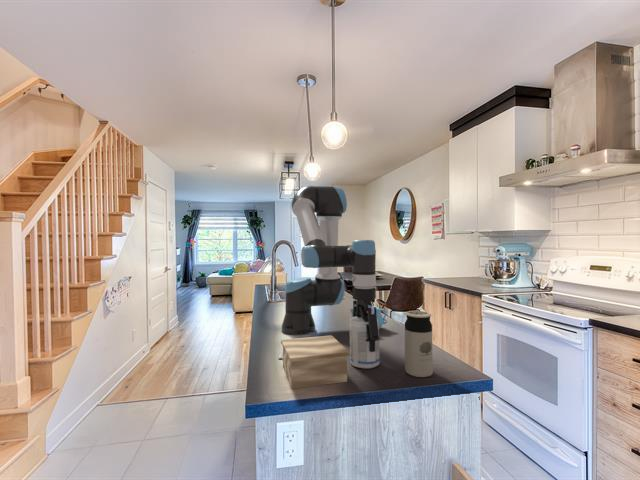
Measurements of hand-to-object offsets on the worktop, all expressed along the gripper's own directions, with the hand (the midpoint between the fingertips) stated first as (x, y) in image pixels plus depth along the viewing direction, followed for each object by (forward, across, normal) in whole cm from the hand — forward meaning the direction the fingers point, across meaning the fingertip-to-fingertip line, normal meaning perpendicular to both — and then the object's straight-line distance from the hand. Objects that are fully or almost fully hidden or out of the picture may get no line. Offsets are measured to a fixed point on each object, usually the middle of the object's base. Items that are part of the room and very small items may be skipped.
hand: (364, 355), depth 105 cm
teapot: (+3, -38, +18) cm, 42 cm away
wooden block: (+3, +3, -18) cm, 18 cm away
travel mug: (+3, +11, +13) cm, 17 cm away
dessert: (+3, -16, -19) cm, 25 cm away
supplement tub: (+3, 0, 0) cm, 3 cm away
